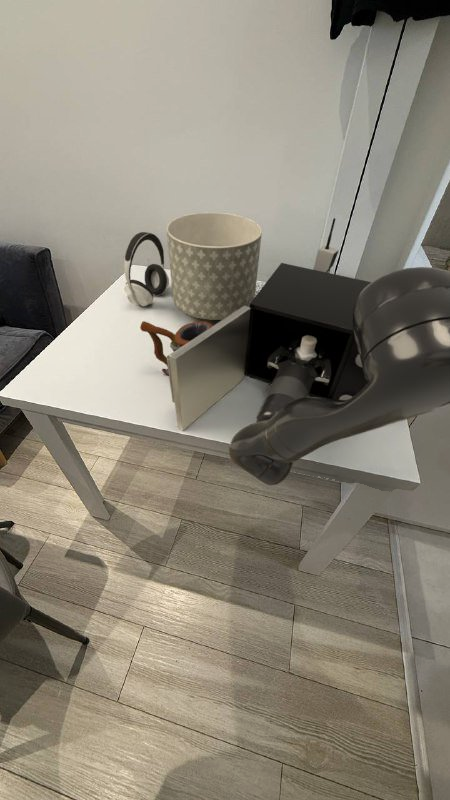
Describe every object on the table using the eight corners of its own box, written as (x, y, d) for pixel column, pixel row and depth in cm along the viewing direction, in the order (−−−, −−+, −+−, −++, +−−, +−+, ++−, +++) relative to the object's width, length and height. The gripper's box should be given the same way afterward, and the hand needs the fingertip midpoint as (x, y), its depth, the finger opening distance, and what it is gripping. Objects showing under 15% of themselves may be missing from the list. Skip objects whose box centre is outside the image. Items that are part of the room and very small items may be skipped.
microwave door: (165, 418, 71) (153, 345, 57) (226, 369, 83) (230, 298, 69) (182, 431, 69) (175, 358, 55) (243, 378, 81) (250, 308, 67)
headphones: (145, 316, 99) (133, 249, 84) (122, 310, 101) (106, 243, 87) (175, 288, 111) (170, 225, 97) (154, 283, 113) (146, 220, 99)
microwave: (354, 418, 73) (389, 346, 59) (239, 381, 81) (245, 309, 66) (368, 356, 89) (398, 287, 74) (270, 330, 96) (281, 262, 82)
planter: (227, 341, 92) (230, 256, 74) (157, 314, 100) (146, 231, 83) (266, 303, 106) (277, 224, 89) (203, 282, 115) (202, 206, 98)
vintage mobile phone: (319, 305, 107) (342, 222, 88) (306, 300, 109) (325, 218, 90) (324, 300, 109) (347, 219, 91) (311, 295, 111) (331, 214, 93)
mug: (140, 386, 78) (129, 334, 67) (157, 356, 86) (149, 306, 75) (213, 399, 76) (214, 347, 65) (224, 367, 84) (225, 316, 73)
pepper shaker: (296, 378, 76) (304, 345, 70) (289, 367, 79) (297, 335, 72) (312, 376, 77) (322, 343, 70) (305, 365, 80) (314, 333, 73)
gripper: (329, 389, 60) (345, 340, 71) (256, 367, 64) (281, 323, 75) (319, 416, 65) (335, 366, 76) (252, 394, 69) (277, 350, 80)
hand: (308, 345), depth 75 cm, fingers closed on pepper shaker, 5 cm apart
